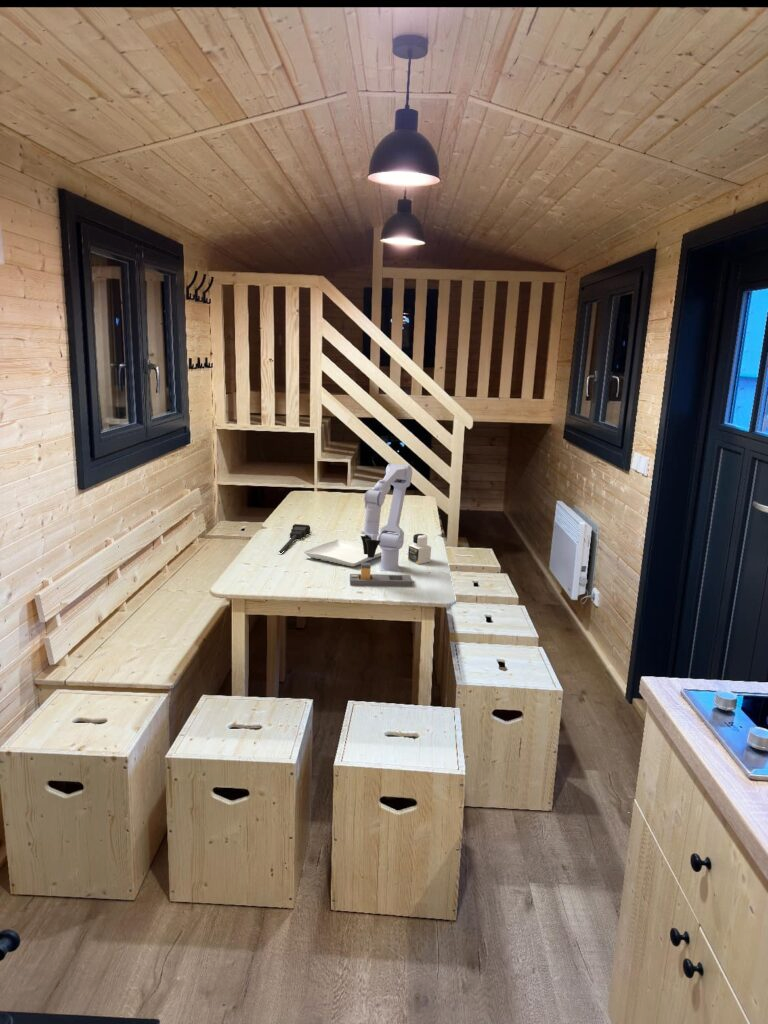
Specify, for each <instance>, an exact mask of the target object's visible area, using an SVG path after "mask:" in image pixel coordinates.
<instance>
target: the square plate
mask: <svg viewBox="0 0 768 1024" xmlns="http://www.w3.org/2000/svg"><path fill="white" fill-rule="evenodd" d="M302 552H303V553H304V554H305V555H306V556H307V557H310V558H313V559H316V560H318V559H321V560H320V561H322V560H325V561H324V562H326V561H329V562H328V563H331V562H334V563H333V564H335V563H338V564H337V565H339V564H342V565H341V566H344V565H346V567H352V568H354V567H356V566H360V565H361V562H362V563H368V562H369V561H372V560H374V559H377V558H379V557H381V552H382V549H381V548H380V547H377V549H376V552H375V555H374V558H368V554H364V550H363V543H359V542H355V541H349V540H344V539H335V540H331V541H329V542H325V543H322V544H320V545H316V546H313V547H312V548H308V549H307V550H306V549H305V550H304V551H302ZM359 564H360V565H359Z"/></svg>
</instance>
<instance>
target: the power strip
mask: <svg viewBox="0 0 768 1024" xmlns="http://www.w3.org/2000/svg"><path fill="white" fill-rule="evenodd" d="M349 586H351V587H352V586H354V587H355V586H359V587H361V586H363V587H365V586H367V587H368V586H369V587H371V586H372V587H413V578H412V577H411V574H380V573H379V574H376V573H375V574H374V573H370V580H365V579H361V573H349Z"/></svg>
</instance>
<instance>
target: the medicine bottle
mask: <svg viewBox="0 0 768 1024" xmlns="http://www.w3.org/2000/svg"><path fill="white" fill-rule="evenodd" d="M412 539H413V541H412V544H409V545H408V554H407V560H408V561H409V562H411V563H413V562H414V563H413V564H416V565H421V564H422V563H423V564H428V563H427V562H429V563H431V555H432V552H431V551H432V547H431V546H430V545H428V536H427V534H424V533H415V534H414V535H413V538H412Z"/></svg>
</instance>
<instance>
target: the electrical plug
mask: <svg viewBox="0 0 768 1024" xmlns="http://www.w3.org/2000/svg"><path fill="white" fill-rule="evenodd" d="M306 534H309V535H310V534H311V526H310V525H309V524H300V523H294V524H293V525H292V527H291V529H290V533H289V540H288V541H287V542H286V543H285V545H283V546H282V548H280V549H279V551H278V552H280V553H282V552H283V551H284V552H286V550H287V549H288V548H289V547H290V546H291V545H292V543H294V541H296V540H295V539H301V540H302V539H303V538H302V537H305V538H306ZM290 538H291V539H290Z"/></svg>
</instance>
